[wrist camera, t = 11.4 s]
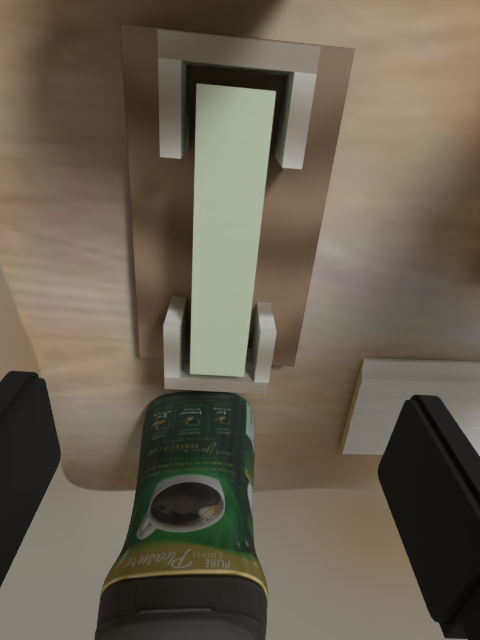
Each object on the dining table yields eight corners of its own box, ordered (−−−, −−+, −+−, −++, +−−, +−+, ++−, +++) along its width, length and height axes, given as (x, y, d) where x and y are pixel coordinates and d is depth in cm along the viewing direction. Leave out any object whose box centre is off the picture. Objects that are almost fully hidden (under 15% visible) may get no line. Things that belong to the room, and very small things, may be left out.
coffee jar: (155, 451, 37) (96, 723, 21) (142, 387, 33) (57, 663, 17) (255, 448, 37) (273, 717, 21) (254, 384, 33) (275, 656, 17)
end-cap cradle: (127, 28, 20) (95, 7, 16) (347, 51, 21) (380, 38, 16) (143, 346, 31) (127, 392, 26) (291, 355, 31) (301, 401, 27)
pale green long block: (203, 86, 21) (196, 83, 17) (268, 92, 21) (276, 91, 17) (195, 336, 29) (189, 373, 25) (242, 339, 29) (244, 376, 25)
